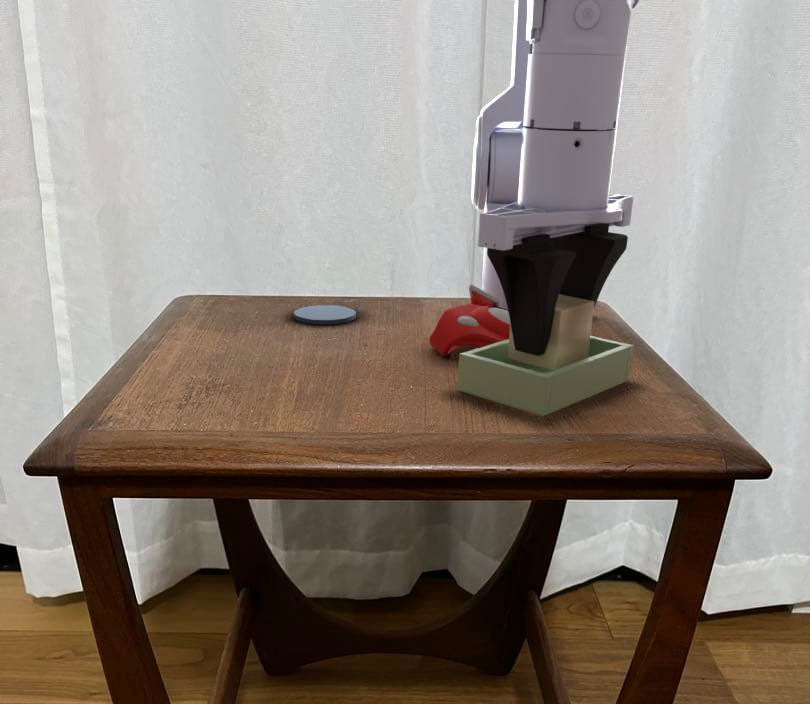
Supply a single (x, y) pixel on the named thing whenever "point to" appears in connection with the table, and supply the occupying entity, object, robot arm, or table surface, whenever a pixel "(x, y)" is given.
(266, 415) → the table surface
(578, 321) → the block
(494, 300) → the red curved piece
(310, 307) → the pad
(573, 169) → the robot arm
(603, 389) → the tray
